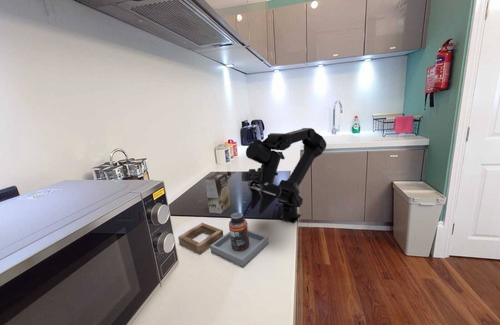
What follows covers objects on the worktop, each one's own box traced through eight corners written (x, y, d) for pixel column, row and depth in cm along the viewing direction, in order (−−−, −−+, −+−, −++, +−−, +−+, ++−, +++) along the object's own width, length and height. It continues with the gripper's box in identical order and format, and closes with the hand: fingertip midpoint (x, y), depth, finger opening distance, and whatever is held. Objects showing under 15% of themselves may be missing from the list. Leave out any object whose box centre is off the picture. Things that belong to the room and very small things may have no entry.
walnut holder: (203, 229, 88) (202, 222, 88) (223, 237, 82) (222, 230, 81) (179, 244, 80) (178, 236, 79) (200, 254, 73) (198, 246, 73)
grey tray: (237, 232, 84) (237, 226, 84) (268, 243, 76) (268, 236, 76) (210, 252, 74) (210, 245, 74) (243, 267, 66) (242, 260, 65)
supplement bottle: (245, 238, 79) (242, 209, 76) (252, 248, 74) (249, 216, 71) (229, 244, 77) (225, 213, 74) (235, 254, 71) (231, 221, 69)
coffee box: (221, 214, 100) (217, 179, 96) (209, 212, 102) (204, 178, 98) (230, 205, 108) (227, 173, 104) (218, 204, 110) (215, 172, 106)
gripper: (241, 160, 86) (228, 200, 85) (255, 158, 68) (239, 209, 67) (267, 170, 89) (255, 208, 87) (288, 170, 71) (273, 219, 69)
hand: (255, 210), depth 77 cm, fingers open, 9 cm apart
